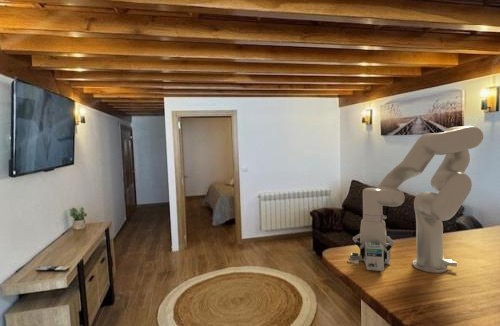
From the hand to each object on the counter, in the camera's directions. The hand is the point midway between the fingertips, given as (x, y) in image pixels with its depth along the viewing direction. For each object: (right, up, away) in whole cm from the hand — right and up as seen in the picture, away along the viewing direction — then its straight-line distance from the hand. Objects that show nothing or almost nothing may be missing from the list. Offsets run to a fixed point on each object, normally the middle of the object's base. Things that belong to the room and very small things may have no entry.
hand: (373, 258), depth 127 cm
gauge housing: (+2, -4, +9) cm, 10 cm away
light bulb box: (0, -3, 0) cm, 3 cm away
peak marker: (-3, -4, +14) cm, 14 cm away
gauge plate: (+1, -4, +7) cm, 8 cm away
